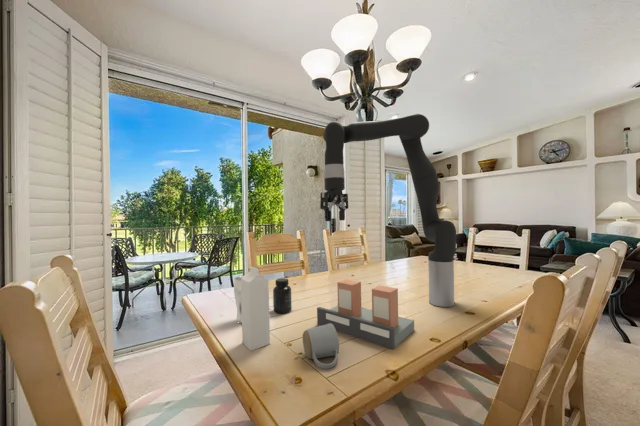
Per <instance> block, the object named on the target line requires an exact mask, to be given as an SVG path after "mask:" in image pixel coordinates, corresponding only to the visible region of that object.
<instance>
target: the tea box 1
mask: <svg viewBox="0 0 640 426" xmlns="http://www.w3.org/2000/svg"><path fill="white" fill-rule="evenodd" d="M337 306H338V312H340V313H343V314H347V315H350V316H354V317H359V316H360V315H362V312H361V307H362V282H361V281H358V280H352V279H347V278H345V279H343V280H341V281H338V282H337Z"/></svg>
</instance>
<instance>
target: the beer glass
mask: <svg viewBox="0 0 640 426" xmlns="http://www.w3.org/2000/svg"><path fill="white" fill-rule="evenodd" d="M243 276H244V275H240V276H236V277H235V278H234V284H233V294H234V295H233V296H234V300H235V305H236V319H235V322H236V321H237V322H239V323H238V324H240V323H242V302H241V278H242V277H243ZM237 322H236V323H237Z"/></svg>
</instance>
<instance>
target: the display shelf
mask: <svg viewBox="0 0 640 426" xmlns="http://www.w3.org/2000/svg"><path fill="white" fill-rule="evenodd" d="M316 310H317V311H316V323H317V325H318V326H322V325H326V324H329V323H331V324H333V325H334V327H335V329H336V332H340V333H343V334H346V335H347V336H351V337H355V338H358V339H361V340H364V341H367V342H369V343H372V344H375V345H378V346H381V347H385V348H387V349H391V350H394V349H395V348H396V347H397V346H398V345H400V344H401V343H402V342H403V341H404V340H405V339H406V338H407V337H408V336H409V335H411V334H412V332H414V331H415V320H414V319H410V318H406V317H403V316H398V325H397V326H396V327H395V328H394V327H390V326H387V325H383V324H379V323H376V322H372V309H371V308H370V309H369V308H366V307H362V306H361V312H362V315H360V316H359V317H354V316H350V315H347V314H343V313H340V312H338V305H336V306H334V307H332V308H330V309H328V308H325V307H321V306H318V307H316Z"/></svg>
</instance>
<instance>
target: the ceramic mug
mask: <svg viewBox="0 0 640 426" xmlns="http://www.w3.org/2000/svg"><path fill="white" fill-rule="evenodd" d="M302 345H303V350H304V354H305V355H306V357H307V358H308V359H311V360H313V362H314V363H315V365H316V366H317V367H319V369H324V370H327V369H331V368H333V367H335V365H336V363H337V360H338V354H339V351H340V339H339V336H338V331H336V329H335V327H334V325H333V324H331V323H329V324H326V325H322V326H321V325H318V326H314V327H311V328H308V329H306V330H304V331H303V333H302ZM333 356H334V359H333V360H332V361H331V363H323V362H321V361H319V359H321V358H327V357H333Z"/></svg>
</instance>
